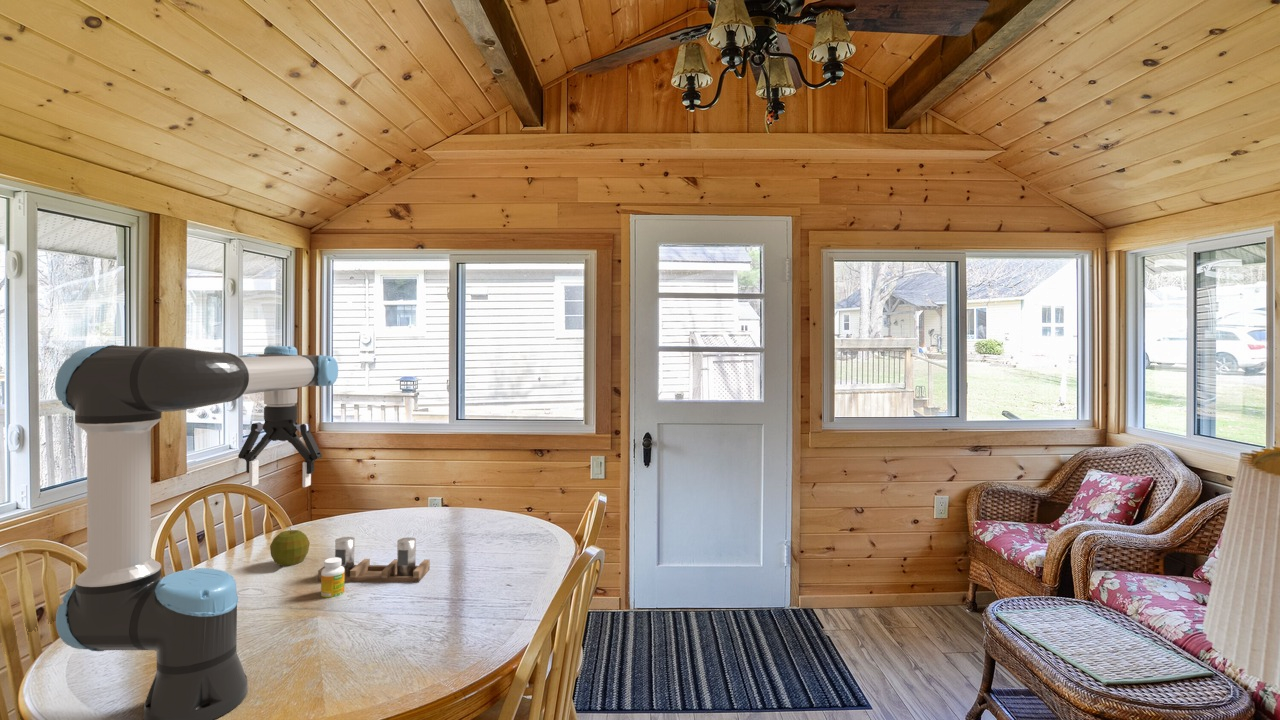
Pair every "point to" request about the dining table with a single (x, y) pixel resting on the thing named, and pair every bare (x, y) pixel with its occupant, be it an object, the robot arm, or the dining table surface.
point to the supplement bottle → (332, 578)
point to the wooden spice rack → (382, 572)
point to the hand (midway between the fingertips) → (280, 485)
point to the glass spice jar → (406, 556)
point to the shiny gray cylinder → (345, 552)
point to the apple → (289, 547)
